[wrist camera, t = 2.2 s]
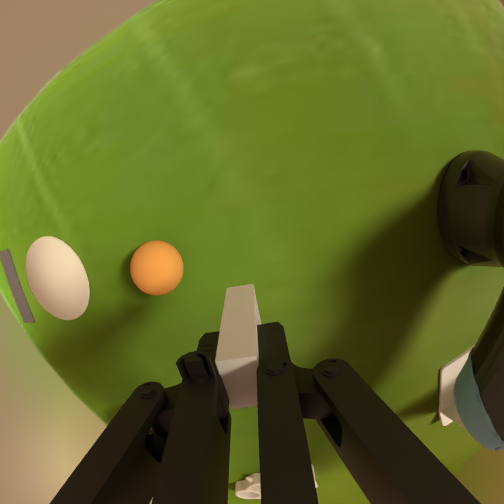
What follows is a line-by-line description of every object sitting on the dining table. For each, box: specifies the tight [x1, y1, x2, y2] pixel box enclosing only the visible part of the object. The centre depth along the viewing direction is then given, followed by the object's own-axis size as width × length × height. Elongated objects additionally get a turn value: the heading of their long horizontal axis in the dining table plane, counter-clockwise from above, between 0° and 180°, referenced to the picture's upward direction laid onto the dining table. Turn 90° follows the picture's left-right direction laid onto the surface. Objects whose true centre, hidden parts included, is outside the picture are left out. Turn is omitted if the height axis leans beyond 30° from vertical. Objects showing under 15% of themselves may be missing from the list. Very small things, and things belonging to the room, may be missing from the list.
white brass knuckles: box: [235, 464, 318, 499], centre depth 43 cm, size 3×18×15 cm
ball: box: [130, 241, 183, 295], centre depth 27 cm, size 6×6×6 cm
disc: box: [26, 236, 90, 320], centre depth 31 cm, size 12×12×1 cm
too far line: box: [0, 249, 35, 323], centre depth 31 cm, size 3×12×1 cm, turn 10°
